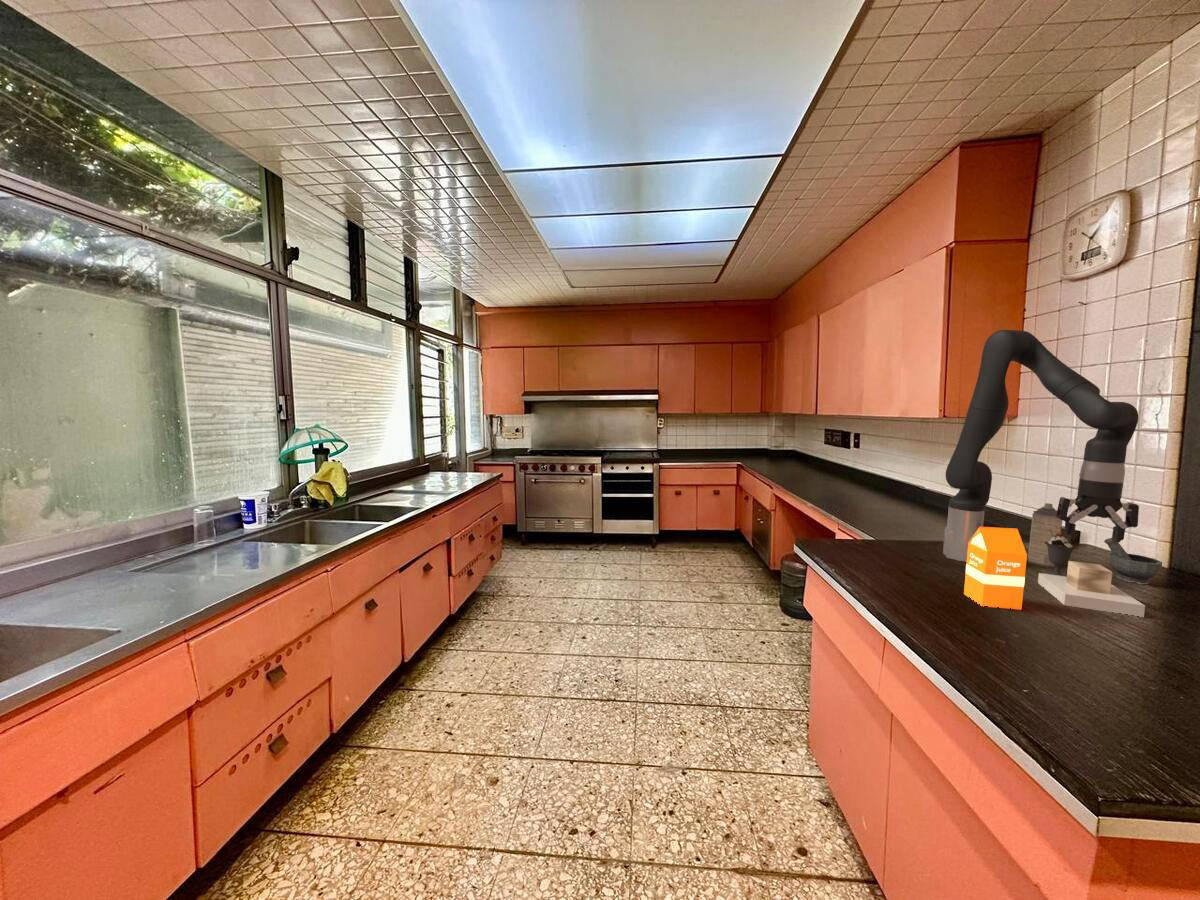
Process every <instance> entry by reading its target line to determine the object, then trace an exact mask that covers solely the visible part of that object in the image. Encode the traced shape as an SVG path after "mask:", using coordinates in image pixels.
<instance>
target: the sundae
mask: <svg viewBox="0 0 1200 900" xmlns="http://www.w3.org/2000/svg"><path fill="white" fill-rule="evenodd" d="M1060 529H1061V527H1060ZM1060 532H1061V534H1060ZM1060 532H1059V533H1056V535H1055V536H1053V537H1052V538H1051V540H1049V541H1046V542H1044V543H1045V544H1046V545H1047V547H1048V557H1049V560H1050V562H1051V563H1053V564H1054V565H1055V567H1054V569H1053V572H1046V573H1045V574H1050V575H1058V576H1065V575H1063V574H1062V573H1061V568H1062V567H1063V566H1066V565H1068V561H1070V558H1071V555H1072V552H1073V550H1076V549H1077V546H1076V545H1074V544H1072V543H1070V541H1069V539H1067V537H1066V536H1065V535H1064V532H1063V531H1062V529H1061V531H1060ZM1065 577H1067V575H1066V576H1065Z"/></svg>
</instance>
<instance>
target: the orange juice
mask: <svg viewBox="0 0 1200 900" xmlns="http://www.w3.org/2000/svg"><path fill="white" fill-rule="evenodd" d="M1018 529H1019V528H1012V527H1011V528H1009V527H993V526H991V527H990V526H983V527H979V528H978V530H977V531H976V533H975V534H974V536H973V537H972V539H971V540H970V541H969V543H968V553H967V562H966V565H965V576H964V578H965V579H964V588H963V595H965V596H966V597H967V598H969V597H970V598H971V599H970V598H969V599H970V600H972V601H973V600H974V601H973V602H975V603H976V602H977V604H978V605H979V604H980V605H979V606H981V607H984V606H988V607H987V608H997V607H999V608H1000V609H1010V608H1011V610H1012V609H1013V610H1022V605H1023V598H1024V589H1025V588H1024V587H1025V579H1026V569H1027V568H1026V567H1027V561H1028V553H1027V551H1026V549H1025V545H1024V542H1023V541H1022V537H1021V535H1020V532H1019V530H1018Z"/></svg>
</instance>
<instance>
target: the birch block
mask: <svg viewBox="0 0 1200 900" xmlns="http://www.w3.org/2000/svg"><path fill="white" fill-rule="evenodd" d="M1066 572H1067V573H1066V577H1067V579H1066V582H1067V583H1069V584H1070V585H1071V586H1073V587H1074V588H1075V589H1077V590H1082V591H1089V592H1096V593H1103V594H1110V588H1111V585H1112V580H1113V578H1112V577H1113V571H1112V570H1110V569H1108V568H1106V567H1105V566H1103V565H1101V564H1097V563H1089V562H1082V561H1072V560H1069V561H1068V564H1067V571H1066Z"/></svg>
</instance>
